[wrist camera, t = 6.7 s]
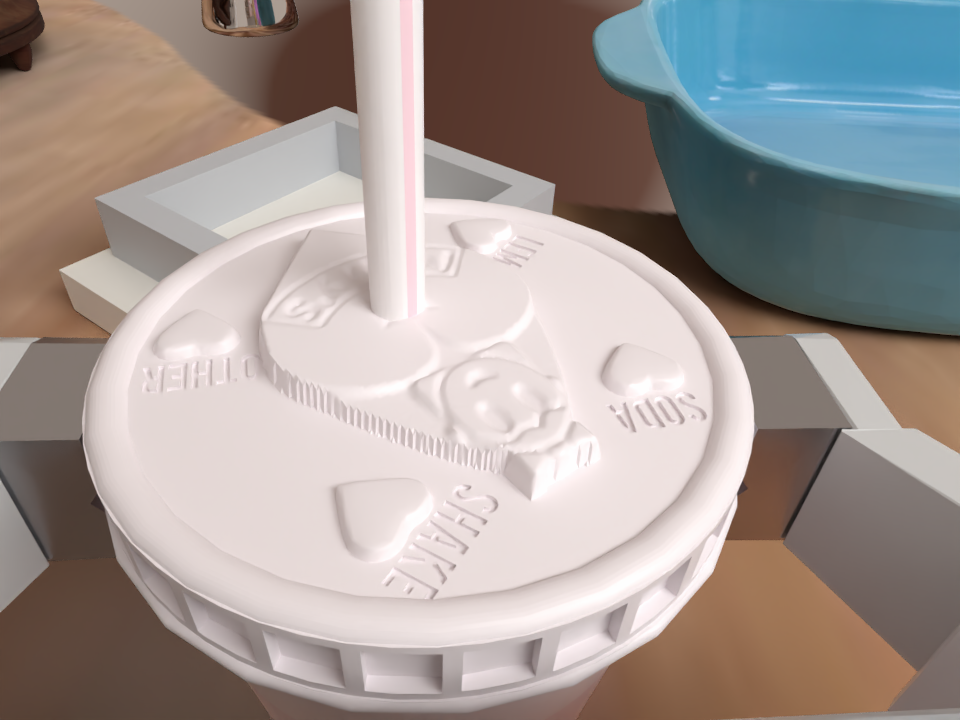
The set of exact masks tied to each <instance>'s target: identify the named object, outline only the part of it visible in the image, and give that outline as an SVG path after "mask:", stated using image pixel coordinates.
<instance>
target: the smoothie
mask: <svg viewBox="0 0 960 720" xmlns="http://www.w3.org/2000/svg"><path fill="white" fill-rule="evenodd" d="M350 4H351V19H352V34H353V49H354V64H355V79H356V94H357V109H358V124H359V139H360V154H361V169H362V184H363V199H364V201H363V202H356V203H348V204H341V205H334V206H329V207H325V208H321V209H317V210H312V211H308V212H304V213H300V214H296V215H291V216H287V217H284V218H281V219H279V220H276V221H273V222H270V223H267V224H265V225H262V226H259V227H256V228H253V229H250V230H248V231H245V232H242V233H240V234H238V235H236V236H234V237H232V238H230V239H228V240H226V241H224V242H222V243H220V244H218V245H216V246H214V247H212V248H210V249H208V250H206V251H204V252H202V253H200V254H199V255H197V256H196V257H194V258H193V259H192V260H190V261H189V262H187V263H186V264H184V265H183V266H181V267H180V268H178V269H177V270H175V271H174V272H173V273H171V274H170V275H168V276H167V277H165V278H164V279H162V280H161V281H160V282H159V283H158V284H157V285H156V286H155V287H154V288H153V289H152V290H151V291H150V292H149V293H148V294H146V295H145V296H144V297H143V298H142V299H141V300H140V301H139V302H138V303H137V304H136V305H135V306H134V307H133V308H132V309H131V310H130V311H129V312H128V313H127V315H126V316H125V318H124V319H123V320H122V321H121V323H120V324H119V325H118V327H117V328H116V329H115V331H114V332H113V333H112V335H111V336H110V338H109V340H108V342H107V343H106V345H105V347H104V348H103V350H102V352H101V353H100V356H99V358H98V360H97V362H96V365H95V367H94V369H93V371H92V374H91V377H90V381H89V384H88V388H87V391H86V395H85V401H84V409H83V417H82V431H83V447H84V452H85V457H86V462H87V467H88V470H89V473H90V476H91V478H92V481H93V483H94V486H95V489H96V491H97V494H98V496H99V498H100V501H101V503H102V504H103V506H104V508H105V513H106V517H107V521H108V525H109V529H110V533H111V538H112V542H113V546H114V550H115V554H116V558H117V562H118V563H119V564H120V566H121V567H122V568H123V570H124V571H125V573H126V574H127V575H128V577H129V578H130V579H131V581H132V582H133V584H134V585H135V586H136V588H137V589H138V590H139V592H140V593H141V594H142V596H143V597H144V599H145V600H146V601H147V603H148V604H149V605H150V607H151V608H152V610H153V611H154V612H155V614H156V615H157V616H158V618H159V619H160V621H161V622H162V623H163V625H164V626H165V627H166V628H167V629H168V630H170V631H171V632H173V633H174V634H176V635H177V636H179V637H180V638H182V639H183V640H185V641H186V642H188V643H189V644H191V645H192V646H194V647H195V648H197V649H198V650H200V651H201V652H203V653H204V654H206V655H207V656H209V657H210V658H212V659H213V660H215V661H216V662H218V663H219V664H221V665H222V666H224V667H225V668H227V669H228V670H230V671H231V672H233V673H234V674H236V675H237V676H239V677H240V678H241V679H243V680H244V681H246V682H247V683H248V684H249V686H250V687H251V689H252V690H253V691H254V693H255V694H256V696H257V697H258V699H259V700H260V702H261V703H262V705H263V706H264V708H265V709H266V711H267V712H268V714H269V715H270V717H271V718H272V720H576V719H577V717H578V715H579V714H580V712H581V711H582V709H583V707H584V706H585V704H586V702H587V701H588V699H589V698H590V696H591V694H592V693H593V691H594V689H595V688H596V686H597V685H598V683H599V681H600V680H601V678H602V677H603V675H604V673H605V672H606V670H607V668H608V667H609V665H610V664H612V663H614V662H615V661H617V660H619V659H620V658H622V657H624V656H625V655H627V654H629V653H630V652H632V651H634V650H635V649H637V648H639V647H640V646H642V645H644V644H645V643H647V642H649V641H650V640H652V639H654V638H656V637H657V636H658V635H659V634H660V633H661V632H662V631H663V630H664V628H665V627H666V626H667V625H668V624H669V623H670V622H671V620H672V619H673V618H674V617H675V616H676V615H677V613H678V612H679V611H680V610H681V609H682V608H683V607H684V605H685V604H686V603H687V602H688V601H689V600H690V598H691V597H692V596H693V595H694V594H695V593H696V592H697V590H698V589H699V588H700V587H701V586H702V585H703V583H704V582H705V581H706V580H707V579H708V578H709V577H710V575H711V574H712V573H713V571H714V568H715V565H716V563H717V560H718V557H719V555H720V552H721V549H722V546H723V544H724V541H725V538H726V536H727V533H728V530H729V528H730V525H731V522H732V519H733V517H734V514H735V511H736V509H737V492H738V490H739V487H740V485H741V483H742V481H743V478H744V476H745V472H746V469H747V465H748V462H749V458H750V455H751V450H752V443H753V435H754V405H753V399H752V394H751V388H750V383H749V380H748V377H747V374H746V371H745V368H744V365H743V363H742V360H741V358H740V356H739V354H738V352H737V350H736V348H735V345H734V344H733V342H732V341H731V339H730V337H729V336H728V334H727V333H726V331H725V329H724V328H723V326H722V325H721V324H720V322H719V321H718V320H717V319H716V317H715V316H714V315H713V314H712V312H711V311H710V310H709V308H708V307H707V306H706V305H705V304H704V303H703V302H702V301H701V300H700V299H699V298H698V297H697V296H696V295H695V294H694V293H693V292H691V291H690V290H689V289H688V288H687V287H686V286H685V285H684V284H683V283H682V282H681V281H680V280H679V279H678V278H677V277H675V276H674V275H673V274H671V273H670V272H668V271H667V270H665V269H664V268H662V267H661V266H659V265H658V264H657V263H655V262H654V261H652V260H651V259H649V258H648V257H646V256H645V255H644V254H642V253H641V252H639V251H637V250H635V249H633V248H631V247H629V246H627V245H625V244H623V243H621V242H619V241H617V240H615V239H613V238H611V237H609V236H607V235H605V234H603V233H601V232H598V231H596V230H593V229H590V228H587V227H585V226H582V225H579V224H576V223H574V222H571V221H568V220H565V219H563V218H560V217H556V216H552V215H548V214H544V213H540V212H536V211H532V210H528V209H524V208H520V207H516V206H509V205H502V204H495V203H489V202H482V201H475V200H464V199H444V198H424V89H423V88H424V82H423V0H350Z"/></svg>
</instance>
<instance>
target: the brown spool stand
mask: <svg viewBox="0 0 960 720" xmlns="http://www.w3.org/2000/svg"><path fill="white" fill-rule="evenodd" d="M43 30H44V20H43V17H42V15H41V12H40V11H39V5H38V2H37V0H0V56H2V55H5V54H9V56H10V58H11V59H12V61H13V62H14V63H15V64H16V66H17V67H18V68H19V69H20V70H22V71H28V70H30V68H31V65H32V52H31V47H30V44H29V43H30V42H32V41H33V40H35V39H36V38H37V37H38V36H39V35H40V34H41V33H42V32H43Z"/></svg>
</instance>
